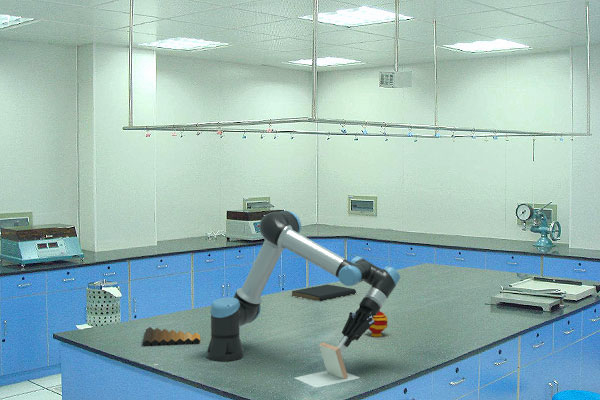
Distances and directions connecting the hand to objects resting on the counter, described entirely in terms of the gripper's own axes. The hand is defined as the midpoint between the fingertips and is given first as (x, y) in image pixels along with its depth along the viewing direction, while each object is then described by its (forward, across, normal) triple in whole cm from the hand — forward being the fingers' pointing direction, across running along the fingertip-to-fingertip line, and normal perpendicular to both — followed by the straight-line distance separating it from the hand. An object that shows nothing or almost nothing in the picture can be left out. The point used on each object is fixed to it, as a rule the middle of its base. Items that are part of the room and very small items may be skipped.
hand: (338, 352), depth 251 cm
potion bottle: (-31, +40, -45) cm, 68 cm away
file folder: (-61, +136, -76) cm, 167 cm away
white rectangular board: (+10, +1, -3) cm, 11 cm away
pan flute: (+25, +90, +10) cm, 94 cm away
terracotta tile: (+6, +1, -6) cm, 9 cm away
